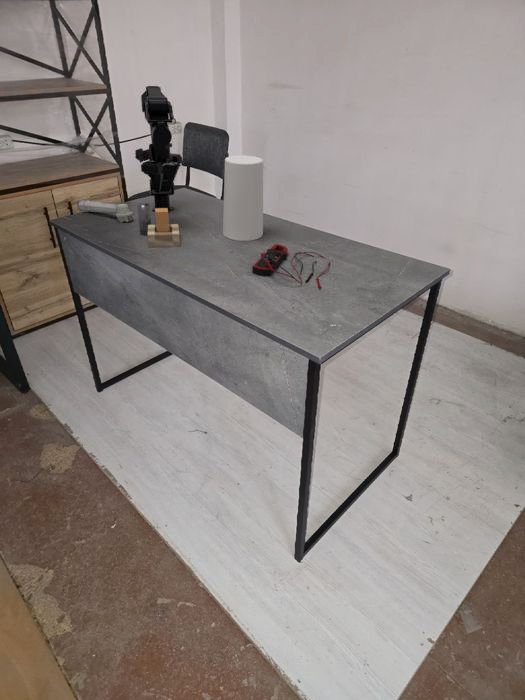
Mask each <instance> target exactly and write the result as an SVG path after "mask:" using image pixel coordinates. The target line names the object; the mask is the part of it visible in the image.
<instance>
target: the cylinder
mask: <svg viewBox="0 0 525 700" xmlns="http://www.w3.org/2000/svg"><path fill="white" fill-rule="evenodd" d="M223 179H224V181H223V183H224V184H223V185H224V186H223V215H222V216H223V217H222V218H223V219H222V220H223V222H222V226H223V227H222V235H223V236H224V237H226V238H227V239H229V240H232V241H237V242H238V241H240V242H250V241H256V240H258V239H260V238H262V237H263V235H264V234H263V233H264V160H263V158H261V157H258V156H254V155H246V154H245V155H230V156H227V157H226V158H225V159H224V177H223Z"/></svg>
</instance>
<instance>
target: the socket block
mask: <svg viewBox="0 0 525 700" xmlns="http://www.w3.org/2000/svg"><path fill="white" fill-rule="evenodd" d="M169 230H170V232H158V233H157V225H156V224H151V225H148V236H147V242H148V243H147V244H148V248H158V247H159V248H160V247H163V248H164V247H166V248H167V247H181V242H180V231H179V230H180V229H179V223H169Z"/></svg>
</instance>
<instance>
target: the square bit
mask: <svg viewBox="0 0 525 700" xmlns="http://www.w3.org/2000/svg"><path fill="white" fill-rule="evenodd" d="M154 208H155V207H154ZM154 212H155V213H154V214H155V222H156V223H155V225H157V233H158V232H170V230H169V224H170V221H169V218H170V217H169V212H168V208H155V211H154Z"/></svg>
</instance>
